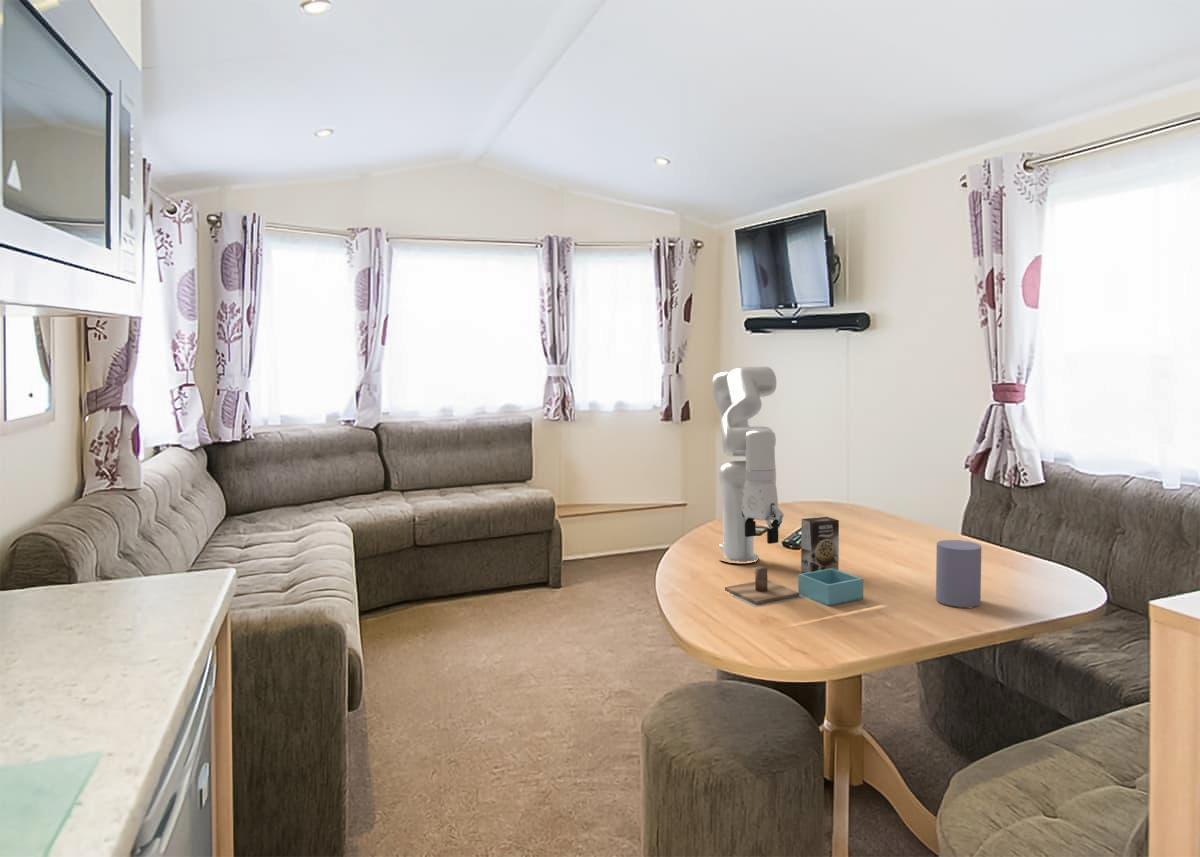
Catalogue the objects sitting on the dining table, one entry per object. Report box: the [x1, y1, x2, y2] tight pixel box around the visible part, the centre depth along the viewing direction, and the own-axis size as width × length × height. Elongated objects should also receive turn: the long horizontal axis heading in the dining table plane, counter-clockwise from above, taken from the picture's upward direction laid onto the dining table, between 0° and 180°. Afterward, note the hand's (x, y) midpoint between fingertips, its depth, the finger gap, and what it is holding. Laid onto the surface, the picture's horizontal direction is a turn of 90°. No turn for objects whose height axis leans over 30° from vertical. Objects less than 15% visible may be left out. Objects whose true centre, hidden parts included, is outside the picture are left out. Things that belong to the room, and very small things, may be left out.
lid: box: [724, 566, 799, 605], centre depth 203 cm, size 14×14×7 cm
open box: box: [797, 568, 864, 607], centre depth 199 cm, size 12×12×6 cm
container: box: [935, 539, 982, 608], centre depth 193 cm, size 10×10×15 cm
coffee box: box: [800, 516, 840, 573], centre depth 223 cm, size 9×6×16 cm
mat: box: [729, 593, 805, 608], centre depth 203 cm, size 16×16×1 cm
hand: (761, 539), depth 201 cm, fingers open, 9 cm apart
